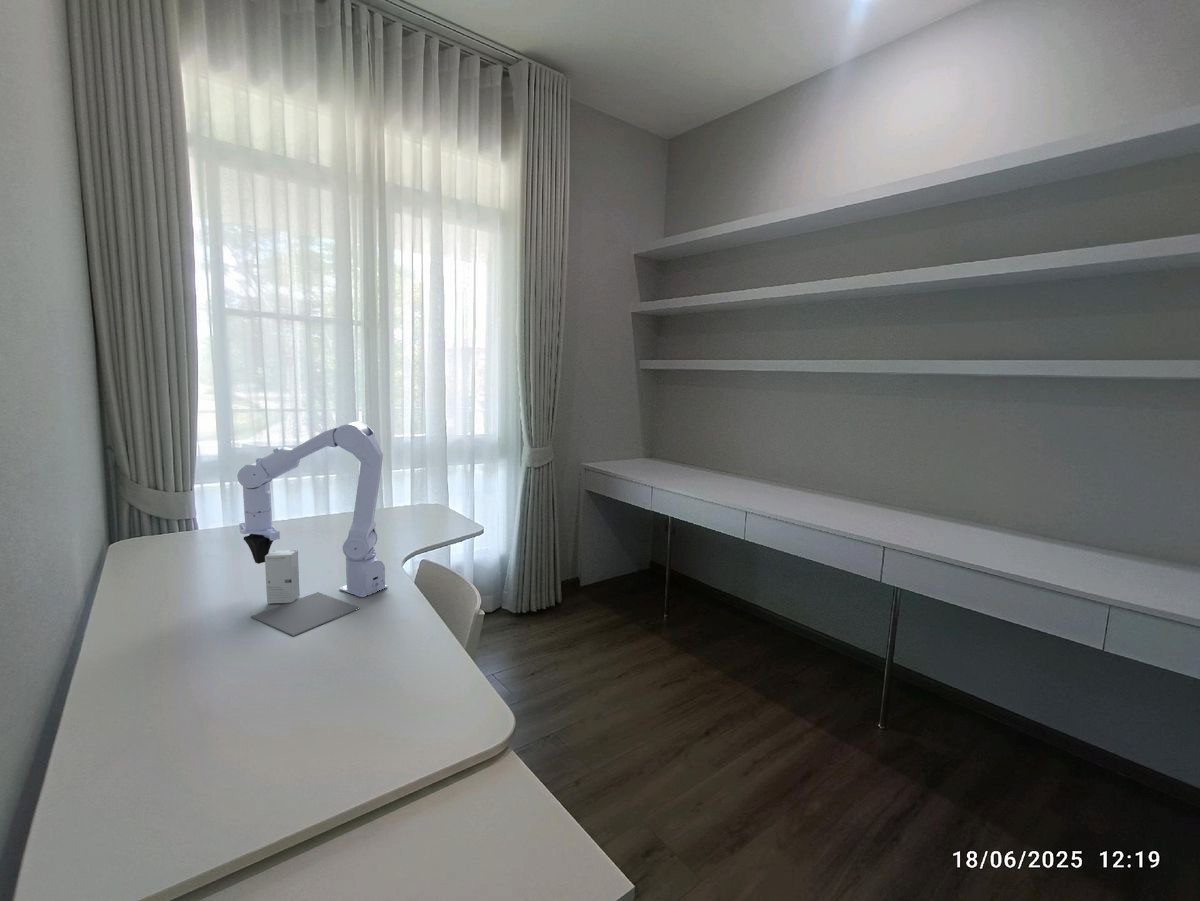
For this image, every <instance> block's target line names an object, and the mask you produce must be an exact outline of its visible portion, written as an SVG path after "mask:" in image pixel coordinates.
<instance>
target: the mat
mask: <svg viewBox="0 0 1200 901" xmlns="http://www.w3.org/2000/svg"><path fill="white" fill-rule="evenodd" d="M358 608H360V606H356V605H354V604H351V603H349V602H346V601H343V600H340V599H337V598H335V597H333V596H330V595H327V594H324V593H321V592H319V591H317V592H314V593H311V594H308V595H306V596H304V597H299V598H297V599H296V600H295V601H293V602H291V603H282V604H281V605H278V606H275V607H273V608H269V609H267V610H264V611H261V612H258V613H256V614H252V615H251V616H250V618H251V619H252V618H253V619H255V620H256V621H259V622H262V623H263V624H265V625H267V626H270V627H271V628H274V629H276V630H278V631H280V632H283V633H285V634H287V635H290V636H292V637H296V636H299V635H300V634H304V633H305V632H308V631H310V630H313V629H315V628H317V627H320V626H321V624H322V625H324V623H325V624H327V623H329V622H331V621H330V620H332V621H334V620H336V619H338V618H337V617H339V618H341V617H343V616H342V615H344V616H345V614H346V615H348V614H351V613H353V612H355V611H354V610H356V609H358ZM358 610H359V609H358ZM352 611H353V612H352ZM356 611H357V610H356ZM350 612H351V613H350ZM347 613H348V614H347ZM340 616H341V617H340ZM335 618H336V619H335ZM333 619H334V620H333ZM328 621H329V622H328ZM326 622H327V623H326ZM319 625H320V626H319Z"/></svg>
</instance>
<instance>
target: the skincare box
mask: <svg viewBox="0 0 1200 901" xmlns="http://www.w3.org/2000/svg"><path fill="white" fill-rule="evenodd" d="M264 566H265V585H266V588H265V589H266V603H267V604H286V603H291V602H293V601H295V600H297V599H299V598H300V595H301V594H300V593H301V592H300V577H299V576H300V570H299V569H300V568H299V550H297V549H296V550H295V549H294V550H293V549H291V550H290V549H286V550H272V551H271V552H270V551H269V553H268V554H267V555H266V556H265V562H264Z"/></svg>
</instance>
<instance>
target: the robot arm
mask: <svg viewBox="0 0 1200 901" xmlns="http://www.w3.org/2000/svg"><path fill="white" fill-rule="evenodd" d="M327 447H331V448H336V447H340V448H341V449H343V450H345V451H347V452H348V453H350V454H352V455H353V456H354V457H355V458H356V459H358V461H359V462H360V467H359V474H358V480H357V488H356V495H355V501H354V503H355V504H354V510H353V518H352V522H351V525H350V527H349V530H348V536H347V538H346V540H345V541H344V542H343V545H342V552H343V555H344V556H345V572H346V584H345V585H343V586H340V587H339V591H343V592H346V593H347V594H350V595H353V594H354V596H355V597H359V598H365V597H367V595H368V596H370V595H372V593H373V594H375V593H377V591H378V592H379V590H380V591H383V590H385V589H387V587H388V588H389V585H387V584H386V567H385V564H384V562H383V561H382V560H380V559H379V558H378V556H377V551H376V550H375V548H374V547H375V545H376V544H377V543H378V534H377V531H376V525H377V524H376V522H375V516H376V510H377V509H376V508H377V501H378V493H379V489H380V488H379V487H380V480H381V475H382V474H381V473H382V467H383V459H384V454H383V452H382V450H381V447H380V445H379V443H378V441H377V439H376V434H375V431H374V430H373V429H371V427H370V426H369V425H368V424H366V423H365V422H363V421H359V420H358V421H357V420H356V421H352V422H350V423H344V424H342V425H340V426H337V427H333V428H330V429H328V430H325V431H322V432H321V433H319V434H317V435H316V436H314V437H312V438H310V439H308V440H306V441H305V442H302V443H301V444H299V445H297V446H296V447H293V448H292V447H286V446H284V447H280V446H279V447H276V448H273V451H272V453H270V454H268V455H265V456H264V457H258V458H256V459H255V462H254V463H250V464H245V465H244V466H243V467H242V468H240V469H239V471H238V473H237V481H238V482H239V484H240V485H241V486H242V493H243V494H242V497H243V498H242V499H243V512H244V513H243V514H244V522H241V523H240V522H239V524H238V525H239V531H240V532H239V533H240V534H242V535H245V536H243V540H244V542H245V543H246V544H247V546H248V548H249V550H250V552H251V555H252V557H253V560H254V563H255V564H258V565H259V564H263V563H265V556H266V555H267V554H269V553H270V550H271V546H272V544H273V542H274V541H276V540H280V539H281V537H280V536H281V534H280V531H279V530H278V529H276V527H275V526H274V525H273V510H272V495H271V494H272V493H271V482H272V480H274V479H276V478H278V477H280V476H282V475H284V474H286V473H289V472H290V471H292V470H294V469H296V468H298V467H299V465H300V461H301V459H304V458H306V457H308V456H309V455H312V454H315V453H316V452H319V451H321V450H322V449H324V448H327ZM384 588H385V589H384ZM382 589H383V590H382Z"/></svg>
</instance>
